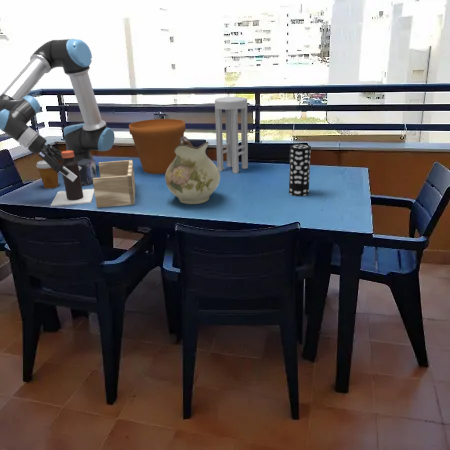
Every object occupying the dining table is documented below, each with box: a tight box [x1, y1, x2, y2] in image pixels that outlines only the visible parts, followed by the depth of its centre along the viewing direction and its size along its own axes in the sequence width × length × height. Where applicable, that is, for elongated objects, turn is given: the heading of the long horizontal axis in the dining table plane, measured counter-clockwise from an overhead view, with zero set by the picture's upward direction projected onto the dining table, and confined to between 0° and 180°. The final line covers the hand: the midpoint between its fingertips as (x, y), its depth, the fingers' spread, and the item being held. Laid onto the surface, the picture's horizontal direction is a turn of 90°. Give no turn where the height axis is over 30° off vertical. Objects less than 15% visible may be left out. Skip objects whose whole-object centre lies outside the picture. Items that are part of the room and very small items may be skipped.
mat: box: [50, 188, 95, 207], centre depth 189 cm, size 18×16×1 cm
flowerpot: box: [128, 118, 186, 175], centre depth 224 cm, size 28×28×24 cm
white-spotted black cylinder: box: [288, 143, 312, 197], centre depth 182 cm, size 8×8×20 cm
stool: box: [214, 96, 249, 174], centre depth 218 cm, size 16×16×35 cm
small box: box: [78, 158, 98, 187], centre depth 208 cm, size 11×6×10 cm, turn 168°
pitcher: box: [164, 136, 221, 205], centre depth 178 cm, size 22×24×25 cm
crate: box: [92, 159, 136, 208], centre depth 188 cm, size 27×15×12 cm, turn 10°
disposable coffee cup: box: [36, 159, 60, 189], centre depth 203 cm, size 10×10×12 cm
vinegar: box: [60, 150, 83, 200], centre depth 183 cm, size 7×7×20 cm
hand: (77, 174), depth 184 cm, fingers open, 13 cm apart
